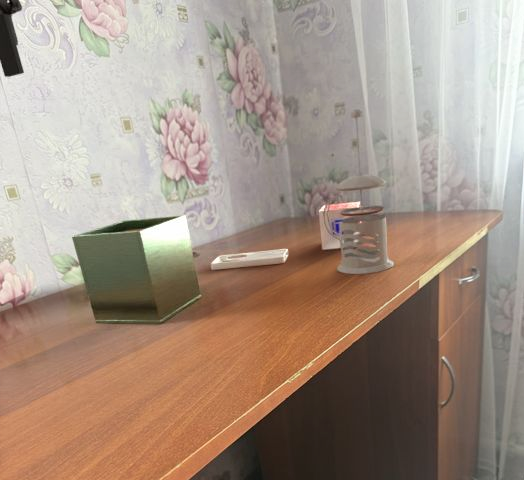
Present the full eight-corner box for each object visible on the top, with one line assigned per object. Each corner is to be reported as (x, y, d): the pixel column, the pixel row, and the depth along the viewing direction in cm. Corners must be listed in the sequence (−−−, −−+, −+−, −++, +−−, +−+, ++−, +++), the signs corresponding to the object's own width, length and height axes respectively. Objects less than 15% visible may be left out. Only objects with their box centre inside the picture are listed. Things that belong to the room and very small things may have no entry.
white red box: (362, 238, 109) (360, 201, 106) (360, 246, 102) (358, 206, 99) (325, 241, 111) (322, 205, 108) (321, 249, 104) (318, 211, 101)
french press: (384, 274, 81) (376, 104, 71) (318, 273, 87) (303, 116, 77) (400, 258, 89) (396, 103, 79) (339, 259, 94) (328, 115, 85)
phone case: (210, 270, 101) (284, 263, 97) (209, 263, 100) (283, 256, 97) (219, 261, 107) (288, 254, 104) (218, 255, 107) (287, 248, 104)
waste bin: (95, 323, 78) (71, 236, 72) (141, 298, 88) (122, 220, 83) (160, 324, 73) (139, 231, 68) (201, 297, 83) (185, 215, 78)
